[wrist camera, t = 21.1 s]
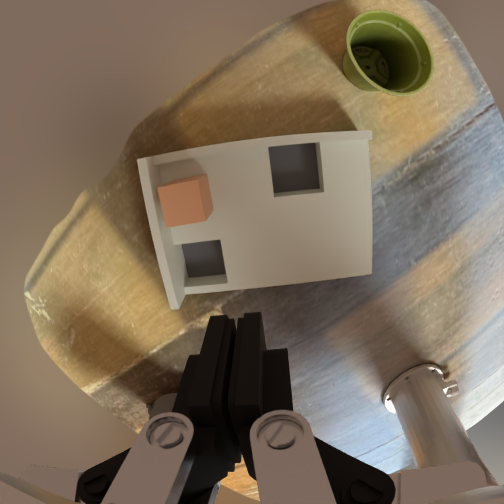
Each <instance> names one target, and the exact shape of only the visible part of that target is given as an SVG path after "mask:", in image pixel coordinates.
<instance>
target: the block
mask: <svg viewBox="0 0 504 504" xmlns="http://www.w3.org/2000/svg"><path fill="white" fill-rule="evenodd" d="M157 189H158V193H159V198H160V202H161V207H162V211H163V215H164V220H165V224H166V228H169V227H175V226H180V225H186V224H192V223H198V222H204V221H206V220H207V219H208V217H209V216H210V214H211V213H212V212H213V210H214V208H213V202H212V197H211V192H210V187H209V182H208V176H207V174H204V175H199V176H193V177H188V178H184V179H179V180H174V181H171V182H169V183H167V184H164V185H162V186H160V187H158V188H157Z"/></svg>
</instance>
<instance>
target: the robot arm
mask: <svg viewBox="0 0 504 504" xmlns="http://www.w3.org/2000/svg"><path fill="white" fill-rule="evenodd" d="M456 385H457V382H456V380H452V381H449V382H447V383H446V382H444V375H443V372H442V371H441V369H440V368H439V367H438V366H436V365H433V364H424V365H420V366H416V367H414V368H411V369H410V370H408V371H406V372H404V373H403V374H401V375H400V376H399V377H397V378H396V379H395V380H394V381H393V382H392V383H391V384H390V386H389V387H388V388H387V390H386V392H385V394H384V397H383V402H384V406H385V408H386V409H387V410H388V411H389V412H391V413H395V414H397V416H398V418H399V421H400V424H401V426H402V429H403V431H404V434H405V437H406V439H407V442H408V445H409V447H410V450H411V453H412V456H413V458H414V461H415V464H416V467H417V469H412V470H402V471H400V473H398V474H386V473H384V472H383V471H381V470H379V469H377V468H374V467H372V466H370V465H368V464H366V463H364V462H362V461H360V460H358V459H356V458H354V457H352V456H350V455H348V454H346V453H344V452H342V451H340V450H338V449H336V448H335V447H333V446H331V445H329V444H327V443H325V442H323V441H322V440H320V439H318V438H316V437H315V436H313V433H312V431H311V428H310V425H309V423H308V421H307V420H306V419H305V418H304V417H303V416H302V415H301V414H299V413H296V412H294V411H293V403H292V392H291V382H290V371H289V361H288V351H287V348H283V349H273V350H266V344H265V336H264V329H263V322H262V315H261V312H254V313H244V318H238V323H237V331H236V325H235V321H234V319H229V318H228V316H227V315H218V316H210V319H209V323H208V326H207V330H206V333H205V337H204V341H203V344H202V348H201V352H200V354H197V355H190V356H189V358H188V360H187V363H186V366H185V370H184V373H183V376H182V379H181V383H180V386H179V389H178V392H177V396H176V399H175V402H174V406H173V409H172V412H167V413H162V414H159V415H156V416H154V417H152V418H151V419H150V420H148V421H147V422H146V424H145V425H144V426H143V428H142V429H141V431H140V433H139V435H138V437H137V439H136V440H135V442H134V444H133V446H132V447H131V448H129V449H127V450H125V451H124V452H122V453H120V454H118V455H116V456H114V457H112V458H110V459H108V460H106V461H104V462H102V463H100V464H98V465H96V466H94V467H92V468H90V469H88V470H87V471H85V472H81V471H80V470H79V469H66V468H56V467H47V466H39V465H30V466H28V467H26V468H25V469H24V470H23V471H22V472H21V474H20V477H19V478H17V477H15V476H12V475H9V474H6V473H3V472H0V504H215V501H216V498H217V494H218V491H219V488H220V481H221V480H222V479H223V478H225V477H226V476H227V475H228V472H234V469H235V463H240V462H241V456H242V455H243V458H244V461H245V464H246V467H247V470H248V473H249V476H251V477H252V478H253V479H255V480H256V481H257V485H258V491H259V497H260V503H261V504H504V485H498V483H497V481H496V480H495V478H494V477H493V476H492V474H491V473H490V472H489V470H488V469H487V467H486V466H485V464H484V463H483V461H482V460H481V458H480V457H479V455H478V453H477V451H476V449H475V448H474V446H473V444H472V442H471V440H470V438H469V436H468V434H467V432H466V431H465V429H464V427H463V425H462V423H461V421H460V419H459V417H458V415H457V414H456V412H455V410H454V408H453V406H452V404H451V403H450V401H449V399H448V397H451V396H454V395H457V394H458V392H459V390H458V387H457V386H456Z"/></svg>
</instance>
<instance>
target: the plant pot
mask: <svg viewBox="0 0 504 504" xmlns="http://www.w3.org/2000/svg"><path fill="white" fill-rule="evenodd" d="M346 47H347V49H346V52H345V54H344V57H343V61H342V66H343V71H344V73H345V75H346V77H347V79H348V80H349V81H350V82H351V83H352V84H354V85H355V86H356V87H358V88H359V89H362V90H365V91H382V92H384V93H387V94H390V95H394V96H410V95H414V94H417V93H419V92H421V91H422V90H423V89H425V88H426V87H427V85H428V84H429V82H430V81H431V78H432V76H433V72H434V58H433V53H432V51H431V48H430V45H429V43H428V41H427V40H426V38H425V37H424V35H423V34H422V32H421V31H420V30H419V29H418V28H417V27H416V26H415V25H414V24H413V23H412V22H410V21H409V20H408V19H406V18H404V17H402V16H400V15H398V14H396V13H394V12H391V11H386V10H370V11H366V12H363V13H361V14H359V15H358V16H357V17H355V18H354V19H353V21H352V22H351V23H350V25H349V27H348V30H347V34H346ZM362 49H365V50H367V52H357V50H362ZM381 62H382V63H383V64H384V66H385V68H386V71H385V72H383V66H382V63H381ZM366 66H369V69H366Z"/></svg>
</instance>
